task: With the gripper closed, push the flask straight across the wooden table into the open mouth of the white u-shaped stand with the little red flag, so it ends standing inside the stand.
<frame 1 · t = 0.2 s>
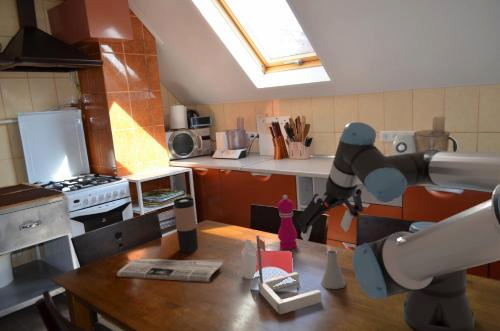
hand: (324, 233, 109), 15 cm above the table, tool tilted 30°, fingers open, 13 cm apart
newspaper: (172, 272, 128), on the table
white u-shaped stand: (291, 295, 105), on the table
travel mug: (189, 249, 147), on the table
flask: (333, 284, 110), on the table
pepper mill: (288, 247, 141), on the table
roll: (251, 275, 120), on the table
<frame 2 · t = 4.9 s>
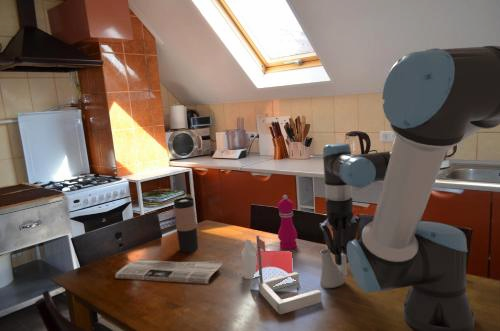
hand: (342, 273, 111), 2 cm above the table, tool pointing down, fingers closed
newspaper: (171, 274, 127), on the table
flask: (332, 282, 110), on the table, touching gripper, hand
everything else where it was.
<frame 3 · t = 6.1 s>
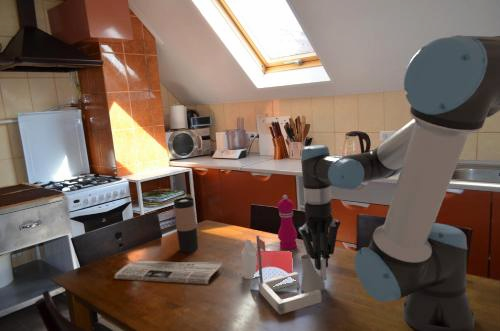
hand: (322, 278, 109), 2 cm above the table, tool pointing down, fingers closed
flask: (313, 288, 108), on the table, touching gripper, hand
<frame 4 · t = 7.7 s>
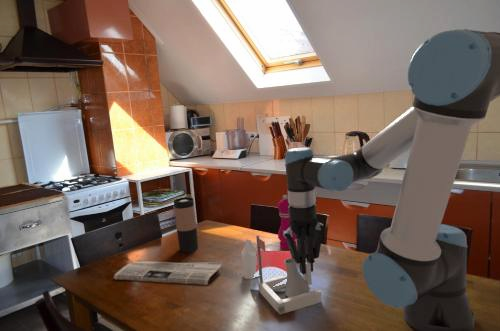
hand: (307, 282, 107), 2 cm above the table, tool pointing down, fingers closed
flask: (298, 292, 106), on the table, touching gripper, hand
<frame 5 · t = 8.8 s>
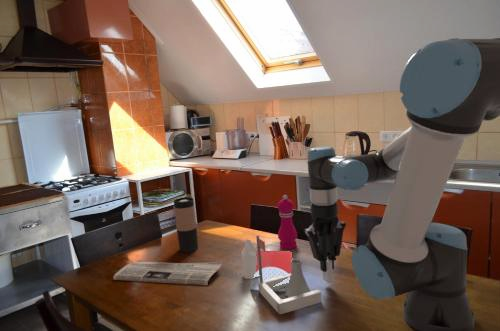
hand: (328, 280, 109), 2 cm above the table, tool pointing down, fingers closed
flask: (298, 295, 106), on the table
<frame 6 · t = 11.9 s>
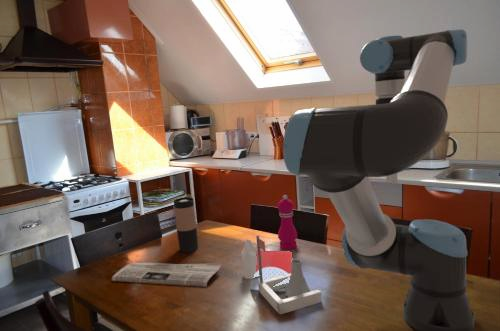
hand: (391, 182, 105), 29 cm above the table, tool pointing down, fingers closed
at the end: flask inside the target area on the white u-shaped stand (2.9 cm from its centre), point 0.0 cm above the white u-shaped stand's base; flask tilted 0° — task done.
